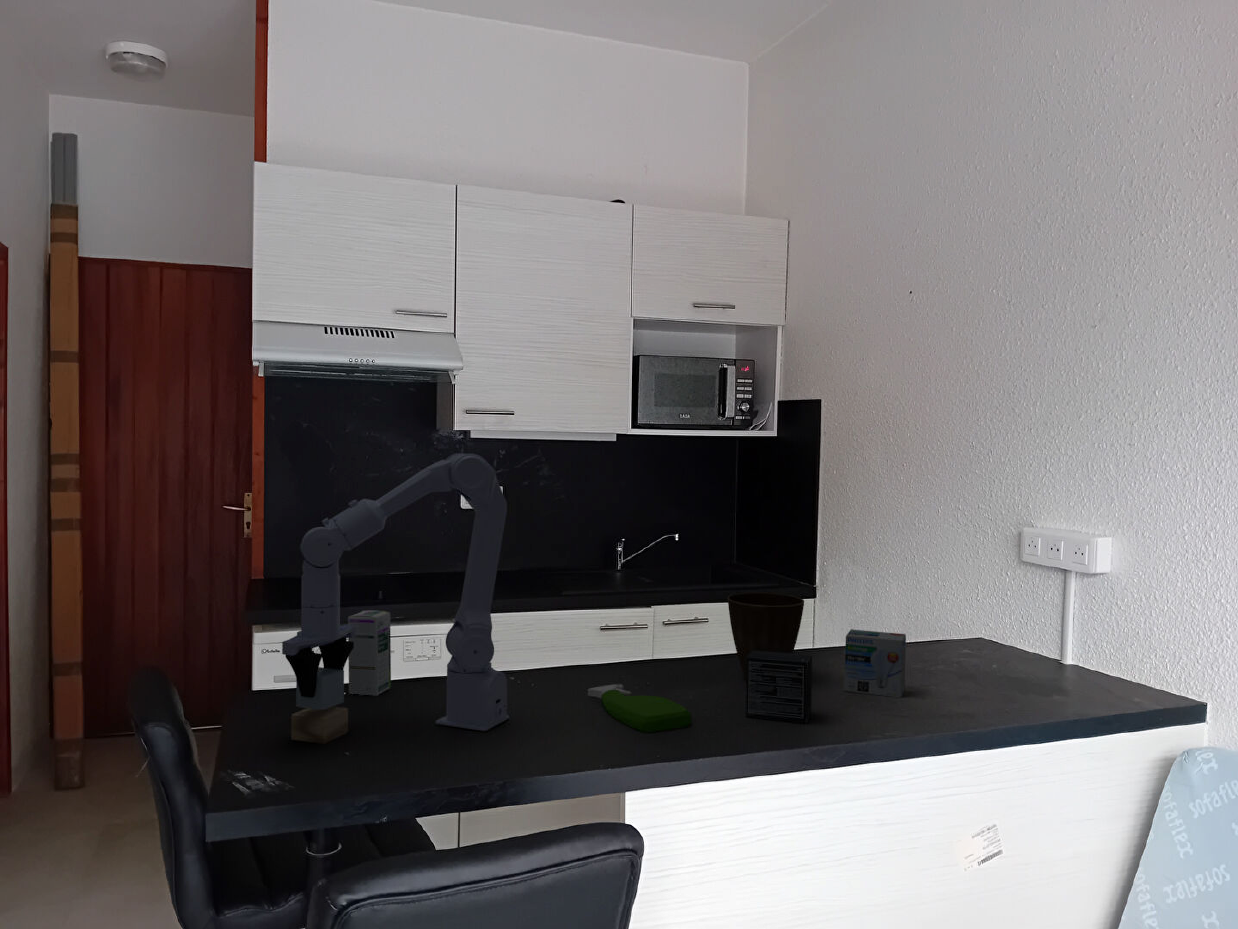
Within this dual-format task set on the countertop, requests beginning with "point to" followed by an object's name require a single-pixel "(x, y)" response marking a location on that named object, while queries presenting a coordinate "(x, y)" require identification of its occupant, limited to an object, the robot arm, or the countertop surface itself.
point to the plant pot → (764, 623)
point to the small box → (779, 686)
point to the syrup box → (370, 653)
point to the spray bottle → (642, 709)
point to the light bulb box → (875, 663)
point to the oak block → (319, 724)
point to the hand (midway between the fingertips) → (320, 692)
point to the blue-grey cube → (324, 690)
